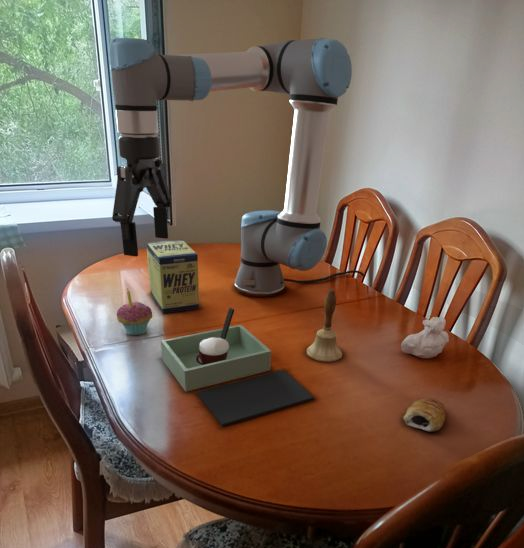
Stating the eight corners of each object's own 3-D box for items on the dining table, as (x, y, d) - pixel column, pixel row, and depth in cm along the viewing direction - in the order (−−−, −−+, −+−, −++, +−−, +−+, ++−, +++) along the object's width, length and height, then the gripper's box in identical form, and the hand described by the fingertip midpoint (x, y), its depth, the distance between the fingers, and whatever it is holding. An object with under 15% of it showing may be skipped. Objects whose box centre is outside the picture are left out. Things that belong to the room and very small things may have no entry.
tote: (240, 342, 119) (240, 324, 116) (270, 370, 108) (271, 351, 105) (162, 359, 110) (160, 340, 108) (185, 391, 99) (184, 371, 97)
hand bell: (345, 348, 117) (352, 285, 110) (338, 364, 111) (346, 299, 103) (311, 342, 120) (316, 280, 112) (302, 358, 113) (307, 293, 105)
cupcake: (144, 340, 118) (140, 293, 112) (112, 336, 119) (106, 289, 114) (158, 325, 125) (155, 281, 120) (127, 321, 127) (122, 277, 121)
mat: (283, 371, 107) (283, 369, 107) (313, 399, 98) (314, 397, 98) (197, 393, 98) (197, 391, 98) (222, 426, 89) (222, 424, 89)
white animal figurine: (400, 366, 115) (425, 346, 105) (390, 337, 118) (413, 315, 108) (444, 360, 119) (471, 340, 109) (433, 332, 121) (459, 310, 111)
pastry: (417, 401, 99) (421, 385, 97) (451, 413, 95) (456, 397, 93) (400, 424, 92) (404, 407, 90) (436, 438, 88) (441, 421, 87)
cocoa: (198, 374, 105) (196, 322, 99) (191, 360, 110) (189, 310, 104) (240, 367, 108) (241, 317, 102) (231, 354, 113) (232, 305, 107)
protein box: (162, 314, 132) (158, 258, 124) (149, 293, 144) (145, 241, 137) (200, 309, 135) (198, 254, 128) (184, 289, 148) (181, 238, 140)
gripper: (150, 129, 104) (157, 229, 114) (82, 139, 83) (98, 261, 93) (183, 131, 102) (187, 233, 112) (122, 142, 81) (134, 266, 91)
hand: (147, 246), depth 103 cm, fingers open, 13 cm apart
